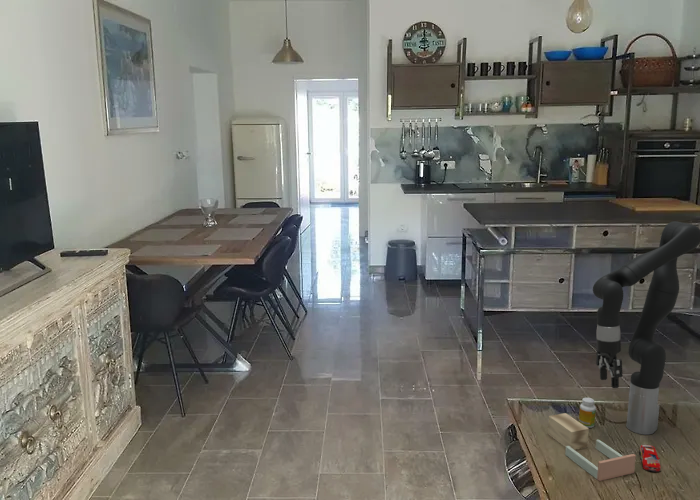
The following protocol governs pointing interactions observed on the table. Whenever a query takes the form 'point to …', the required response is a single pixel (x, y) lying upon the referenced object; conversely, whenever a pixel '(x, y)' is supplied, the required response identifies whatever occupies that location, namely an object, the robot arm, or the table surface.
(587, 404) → the supplement bottle
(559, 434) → the oak block
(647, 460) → the race car
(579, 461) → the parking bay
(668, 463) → the table surface
